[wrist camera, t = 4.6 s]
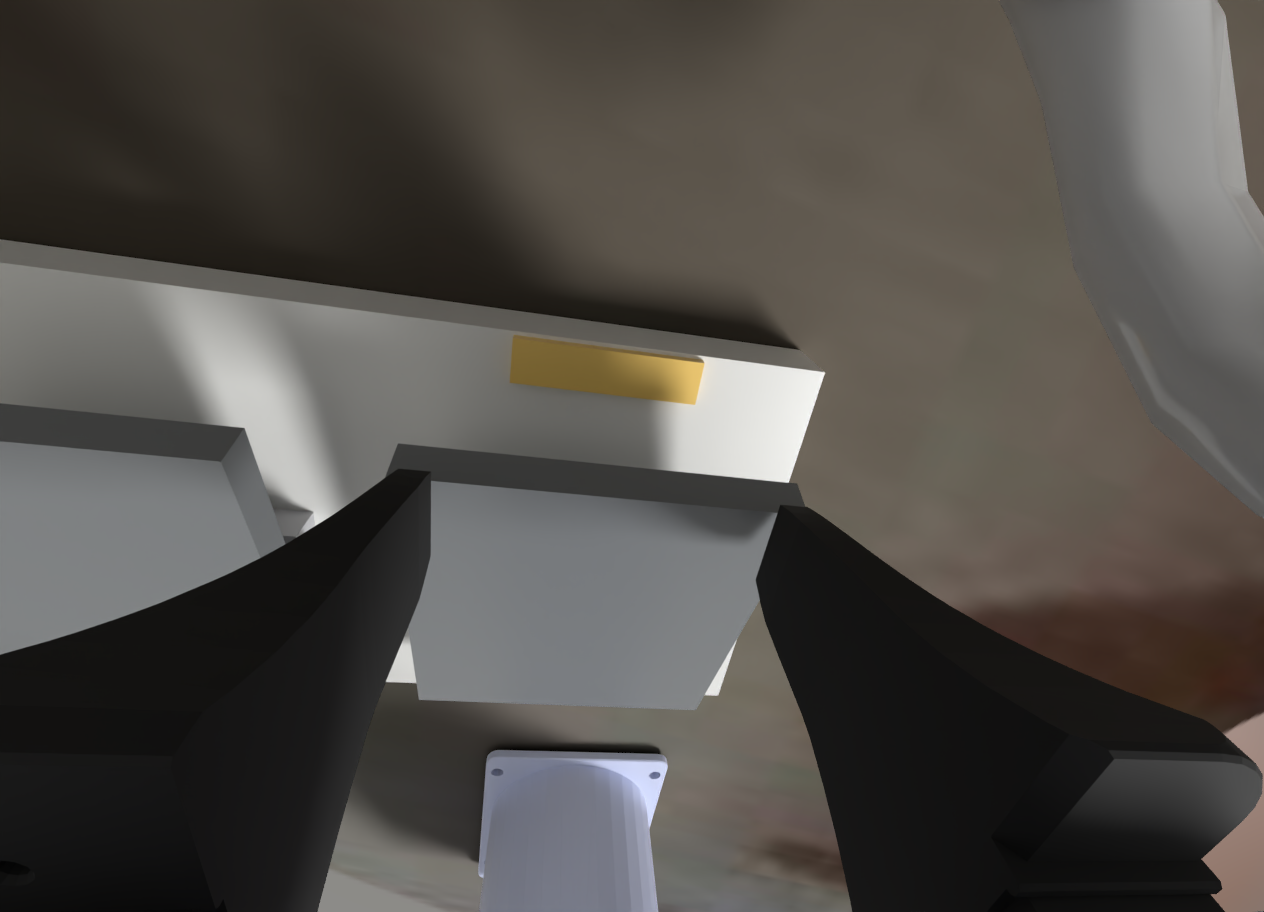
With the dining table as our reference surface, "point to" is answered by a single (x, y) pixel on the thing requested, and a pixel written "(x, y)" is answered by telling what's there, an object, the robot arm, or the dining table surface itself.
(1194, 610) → the dining table surface
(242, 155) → the dining table surface
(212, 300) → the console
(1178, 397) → the chamber pot
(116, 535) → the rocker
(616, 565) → the rocker
